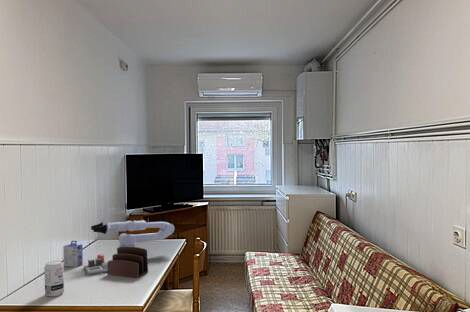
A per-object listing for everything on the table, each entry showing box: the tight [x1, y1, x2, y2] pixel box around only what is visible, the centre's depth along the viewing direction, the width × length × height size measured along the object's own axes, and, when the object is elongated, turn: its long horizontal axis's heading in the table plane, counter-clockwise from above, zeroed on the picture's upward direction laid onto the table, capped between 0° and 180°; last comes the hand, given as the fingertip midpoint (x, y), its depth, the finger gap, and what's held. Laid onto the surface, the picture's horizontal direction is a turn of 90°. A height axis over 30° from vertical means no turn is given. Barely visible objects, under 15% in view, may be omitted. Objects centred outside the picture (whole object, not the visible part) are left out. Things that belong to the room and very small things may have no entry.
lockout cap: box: [96, 254, 105, 263], centre depth 238 cm, size 4×4×5 cm
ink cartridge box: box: [62, 240, 84, 268], centre depth 234 cm, size 10×6×14 cm, turn 78°
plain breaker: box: [94, 258, 102, 265], centre depth 230 cm, size 3×4×3 cm
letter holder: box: [107, 246, 149, 279], centre depth 216 cm, size 10×20×14 cm, turn 71°
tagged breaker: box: [87, 258, 95, 267], centre depth 228 cm, size 3×4×3 cm
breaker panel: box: [83, 261, 108, 277], centre depth 224 cm, size 13×17×2 cm
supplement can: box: [43, 260, 65, 297], centre depth 186 cm, size 8×8×15 cm
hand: (92, 229), depth 236 cm, fingers open, 7 cm apart
